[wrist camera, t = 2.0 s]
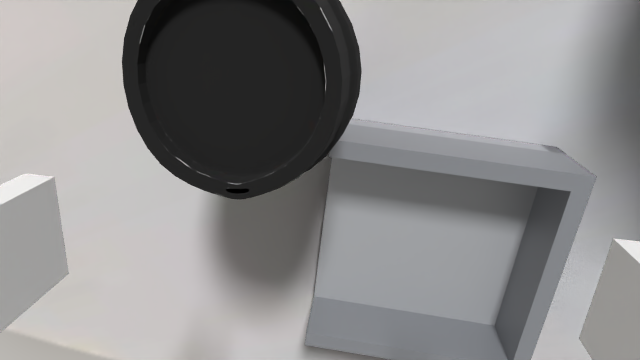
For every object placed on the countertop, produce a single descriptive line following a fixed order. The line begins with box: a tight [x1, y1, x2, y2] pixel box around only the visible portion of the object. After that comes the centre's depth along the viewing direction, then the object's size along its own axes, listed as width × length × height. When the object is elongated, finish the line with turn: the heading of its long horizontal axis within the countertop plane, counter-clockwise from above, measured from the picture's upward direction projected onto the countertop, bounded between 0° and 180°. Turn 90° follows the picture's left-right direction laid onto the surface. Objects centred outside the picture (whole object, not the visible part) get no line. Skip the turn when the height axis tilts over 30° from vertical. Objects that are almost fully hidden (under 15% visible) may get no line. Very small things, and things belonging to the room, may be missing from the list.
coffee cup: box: [122, 0, 361, 199], centre depth 21 cm, size 8×8×15 cm
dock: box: [305, 119, 596, 360], centre depth 29 cm, size 14×14×6 cm
